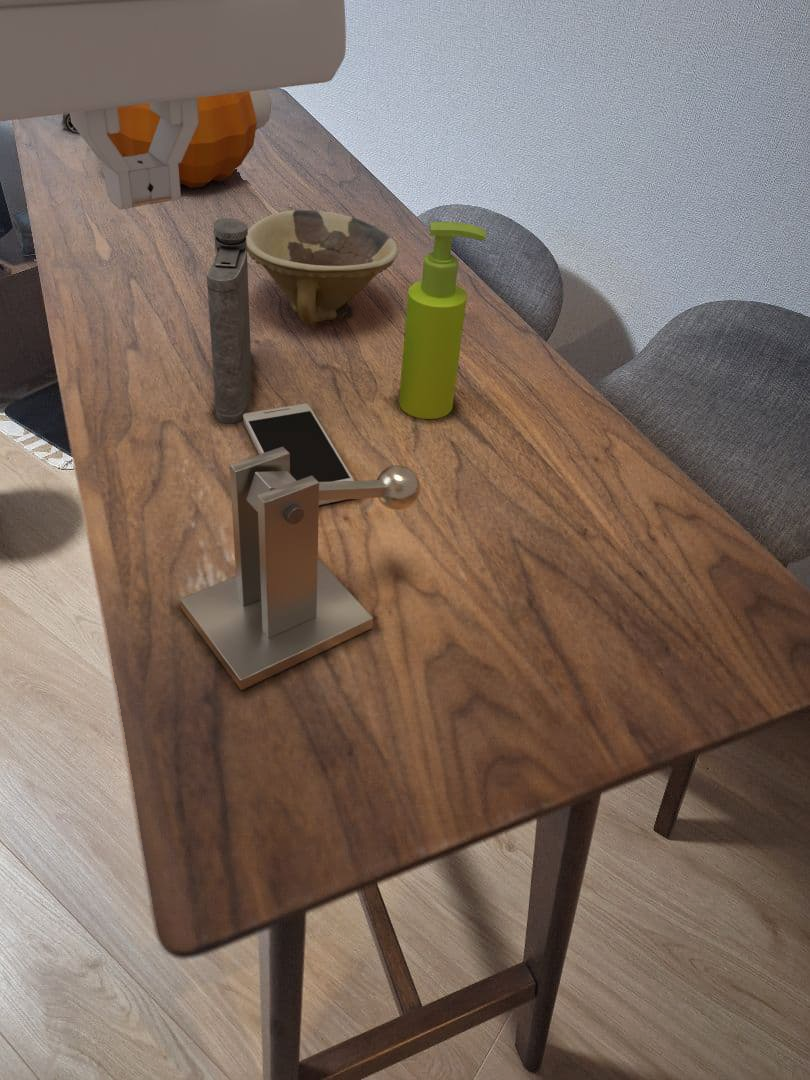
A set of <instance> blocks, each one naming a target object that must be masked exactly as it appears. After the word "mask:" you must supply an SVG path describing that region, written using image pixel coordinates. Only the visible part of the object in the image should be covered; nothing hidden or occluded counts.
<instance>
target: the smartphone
mask: <svg viewBox="0 0 810 1080" xmlns="http://www.w3.org/2000/svg"><path fill="white" fill-rule="evenodd" d="M242 421H243V425H244V427H245V430H246V431H247V433H248V435H249V437H250V439H251V441H252V443H253V445H254V447H255V449H256V451H257V453H258V455H259V454H262V453H265V452H268V451H271V450H274V449H277V448H280V447H284V448H285V449H286V450H287V451H288V452H289V453H290V474H291V475H292V477H293V478H294V479H295V480H296V481H298V480H301V479H303V478H306V477H309V476H313V477H314V478H315V479H316V480H317V481H318V482H335V481H355V479H354V477H353V475H352V474H351V472H350V470H349V468H348V467H347V465H346V464H345V462H344V461H343V459H342V457H341V455H340V454H339V452H338V450H337V449H336V448H335V446H334V444H333V442H332V440H331V438H329V435H328V434H327V432H326V430H325V429H324V427H323V426H322V424H321V422H320V421H319V419H318V417H317V416H316V413H315V412H314V411H313V409H312V407H311V406H310V405H309V404H308V403H300V404H294V405H293V404H292V405H288V406H281V407H275V408H270V409H263V410H256V411H252V412H251V411H250V412H246V413H245V414H243V419H242ZM346 500H347V499H342V500H324V501H319V506H321V505H322V506H323V505H326V504H330V503H336V502H340V501H346Z"/></svg>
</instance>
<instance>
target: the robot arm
mask: <svg viewBox="0 0 810 1080" xmlns="http://www.w3.org/2000/svg"><path fill="white" fill-rule="evenodd" d="M346 26H347V24H346V5H345V0H0V122H8V121H15V120H24V119H33V118H41V117H48V116H59V115H63V114H66V113H70V118H71V123H72V124H73V126H74V127H75V128H76V130H77V131H78V132H79V133H78V134H79V135H80V136H81V137H82V140H84V142H85V143H86V144H87V145H88V147H89V148H90V149H91V151H92V152H93V153H94V155H95V156H96V158H97V159H98V160H99V161H100V162H101V163H102V169H103V175H104V183H105V190H106V193H107V196H108V199H109V201H110V202H111V203H112V204H113V205H114V206H115V207H116V208H117V209H118V210H127V209H131V208H136V207H141V206H145V205H146V206H147V205H154V204H160V203H167V202H171V201H176V200H177V201H178V200H179V199H181V194H182V193H181V183H180V179H179V167H178V163H181V161H182V159H183V157H184V154H185V152H186V150H187V148H188V146H189V143H190V141H191V139H192V137H193V135H194V132H195V130H196V128H197V126H198V124H199V119H198V103H197V98H199V97H208V96H216V95H224V94H233V93H241V92H249V91H257V90H266V89H267V90H272V89H281V88H282V89H283V88H291V87H298V86H307V85H314V84H324V83H328V82H331V81H332V80H333V79H334V77H335V75H336V74H337V72H338V71H339V69H340V67H341V65H342V64H343V62H344V60H345V57H346V49H347V48H346V47H347V45H346V44H347V29H346V28H347V27H346ZM141 104H150V110H152V111H153V112H154V113H155V114H157V115H158V116H160V120H159V123H158V126H157V129H156V132H155V134H154V137H153V140H152V143H151V146H150V149H149V151H148V152H149V153H146V154H140V155H134V156H127V157H122V155H121V154H120V152H119V151H118V150H117V148H116V147H115V145H114V144H113V143H112V141H111V140H110V138H109V137H108V135H107V132H108V133H110V134H114V133H118V132H119V131H120V125H119V115H118V107H125V106H133V105H141Z"/></svg>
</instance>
